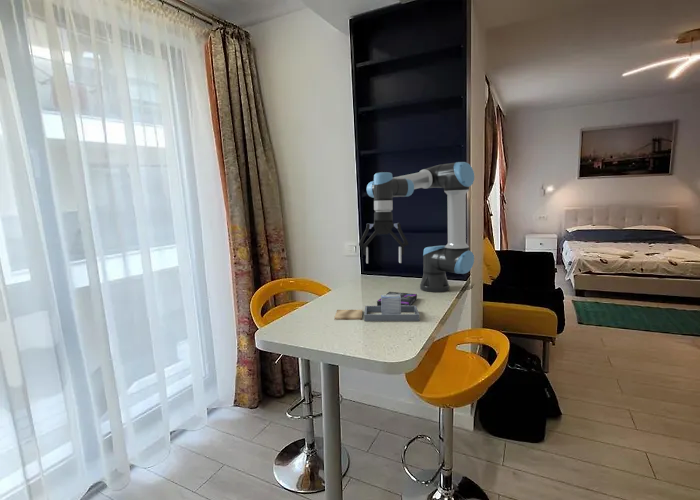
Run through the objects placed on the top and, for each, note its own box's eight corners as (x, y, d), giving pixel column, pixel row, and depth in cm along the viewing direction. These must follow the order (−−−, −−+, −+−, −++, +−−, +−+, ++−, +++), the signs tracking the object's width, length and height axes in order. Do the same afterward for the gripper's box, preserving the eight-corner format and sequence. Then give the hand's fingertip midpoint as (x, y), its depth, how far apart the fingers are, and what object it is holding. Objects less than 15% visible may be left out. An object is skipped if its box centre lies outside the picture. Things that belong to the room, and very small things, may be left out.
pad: (362, 311, 158) (362, 309, 157) (361, 319, 147) (361, 317, 147) (337, 311, 158) (337, 309, 158) (334, 319, 147) (334, 317, 147)
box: (406, 312, 158) (417, 300, 176) (407, 304, 158) (417, 293, 175) (376, 308, 164) (389, 297, 181) (376, 301, 163) (389, 290, 181)
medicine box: (400, 314, 152) (400, 294, 151) (401, 317, 148) (400, 297, 147) (381, 314, 153) (381, 294, 152) (381, 317, 148) (381, 296, 147)
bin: (415, 311, 156) (415, 305, 156) (419, 321, 143) (419, 314, 143) (365, 311, 157) (365, 305, 157) (364, 321, 145) (364, 314, 144)
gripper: (412, 210, 152) (412, 261, 154) (352, 211, 152) (353, 261, 155) (415, 210, 144) (415, 263, 147) (352, 211, 145) (353, 264, 147)
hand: (383, 262), depth 151 cm, fingers open, 13 cm apart
